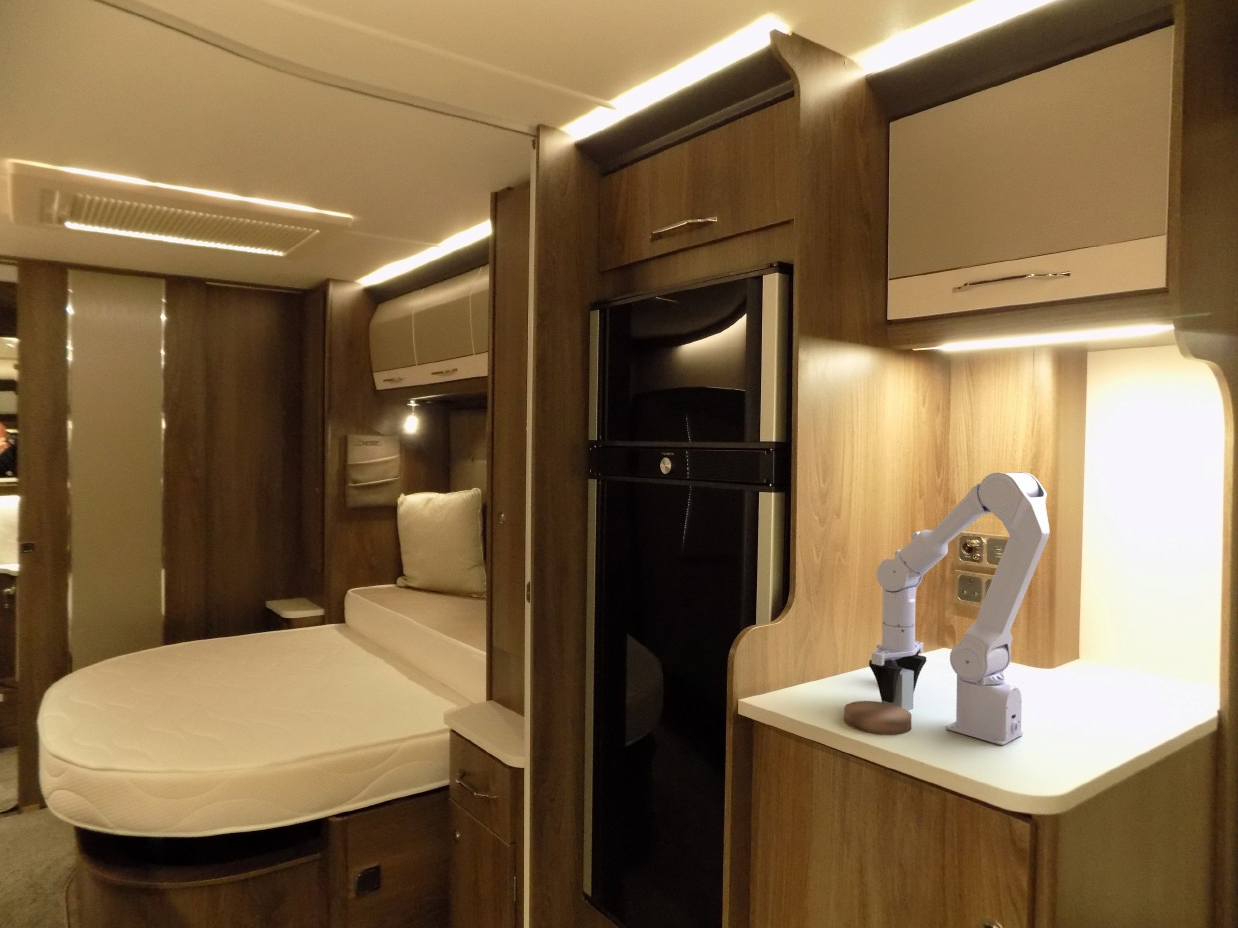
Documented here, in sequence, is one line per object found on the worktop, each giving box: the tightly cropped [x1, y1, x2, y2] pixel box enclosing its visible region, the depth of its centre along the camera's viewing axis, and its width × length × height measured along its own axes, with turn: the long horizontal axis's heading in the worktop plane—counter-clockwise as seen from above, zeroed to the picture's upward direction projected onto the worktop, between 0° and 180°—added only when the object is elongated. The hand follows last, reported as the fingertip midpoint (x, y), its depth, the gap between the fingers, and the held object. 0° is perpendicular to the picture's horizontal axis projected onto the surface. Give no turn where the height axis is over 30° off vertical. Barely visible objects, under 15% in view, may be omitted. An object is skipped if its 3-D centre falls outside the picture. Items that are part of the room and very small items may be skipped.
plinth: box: [843, 700, 913, 736], centre depth 131 cm, size 11×11×2 cm
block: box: [881, 668, 914, 712], centre depth 139 cm, size 4×4×7 cm
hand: (897, 697), depth 139 cm, fingers open, 6 cm apart
